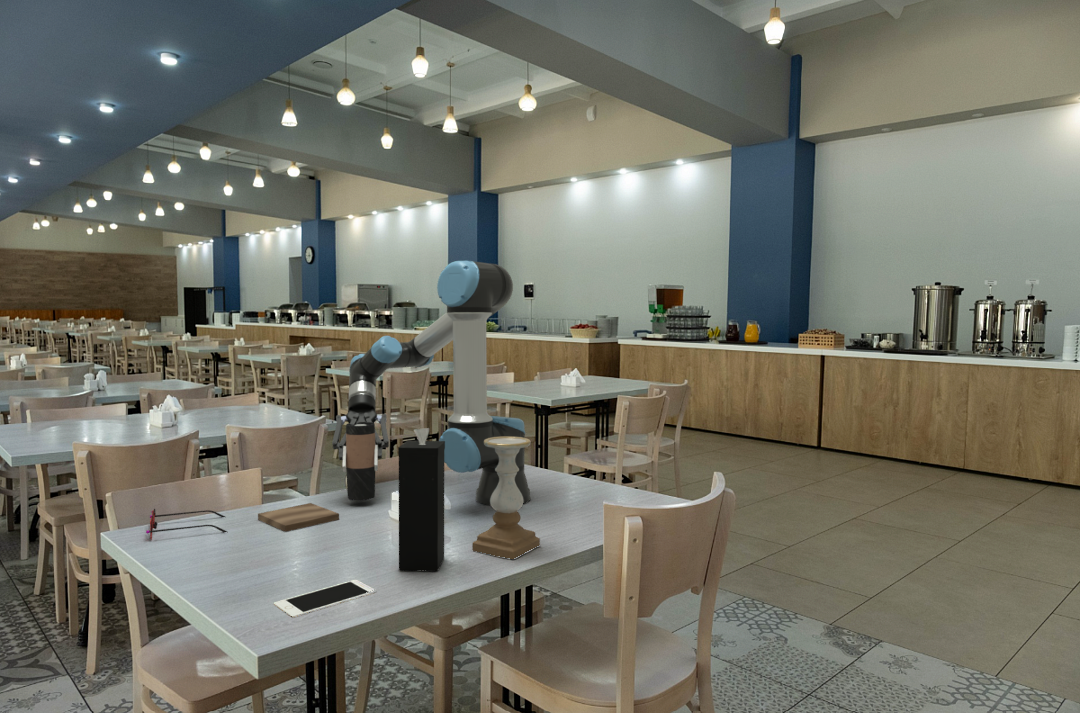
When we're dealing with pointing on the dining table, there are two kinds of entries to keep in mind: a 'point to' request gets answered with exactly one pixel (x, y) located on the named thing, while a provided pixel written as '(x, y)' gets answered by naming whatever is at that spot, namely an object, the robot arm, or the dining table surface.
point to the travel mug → (360, 461)
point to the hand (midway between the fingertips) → (360, 468)
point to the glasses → (154, 525)
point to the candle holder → (506, 505)
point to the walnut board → (298, 517)
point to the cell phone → (322, 597)
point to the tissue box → (421, 503)
